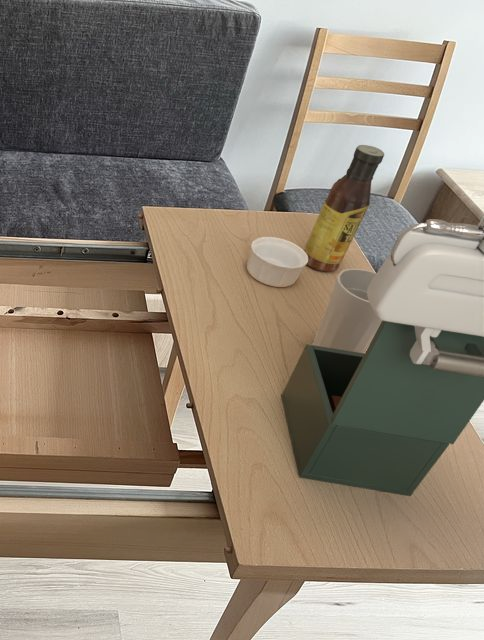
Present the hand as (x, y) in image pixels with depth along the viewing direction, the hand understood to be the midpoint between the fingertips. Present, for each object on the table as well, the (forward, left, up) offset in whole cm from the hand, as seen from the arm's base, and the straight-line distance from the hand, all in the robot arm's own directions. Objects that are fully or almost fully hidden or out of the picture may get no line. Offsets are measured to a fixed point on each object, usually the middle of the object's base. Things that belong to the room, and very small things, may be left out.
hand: (454, 366), depth 63 cm
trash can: (0, -9, -21) cm, 23 cm away
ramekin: (+4, -45, -21) cm, 50 cm away
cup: (-2, -26, -21) cm, 34 cm away
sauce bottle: (-5, -51, -21) cm, 56 cm away
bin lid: (0, -3, -4) cm, 5 cm away
